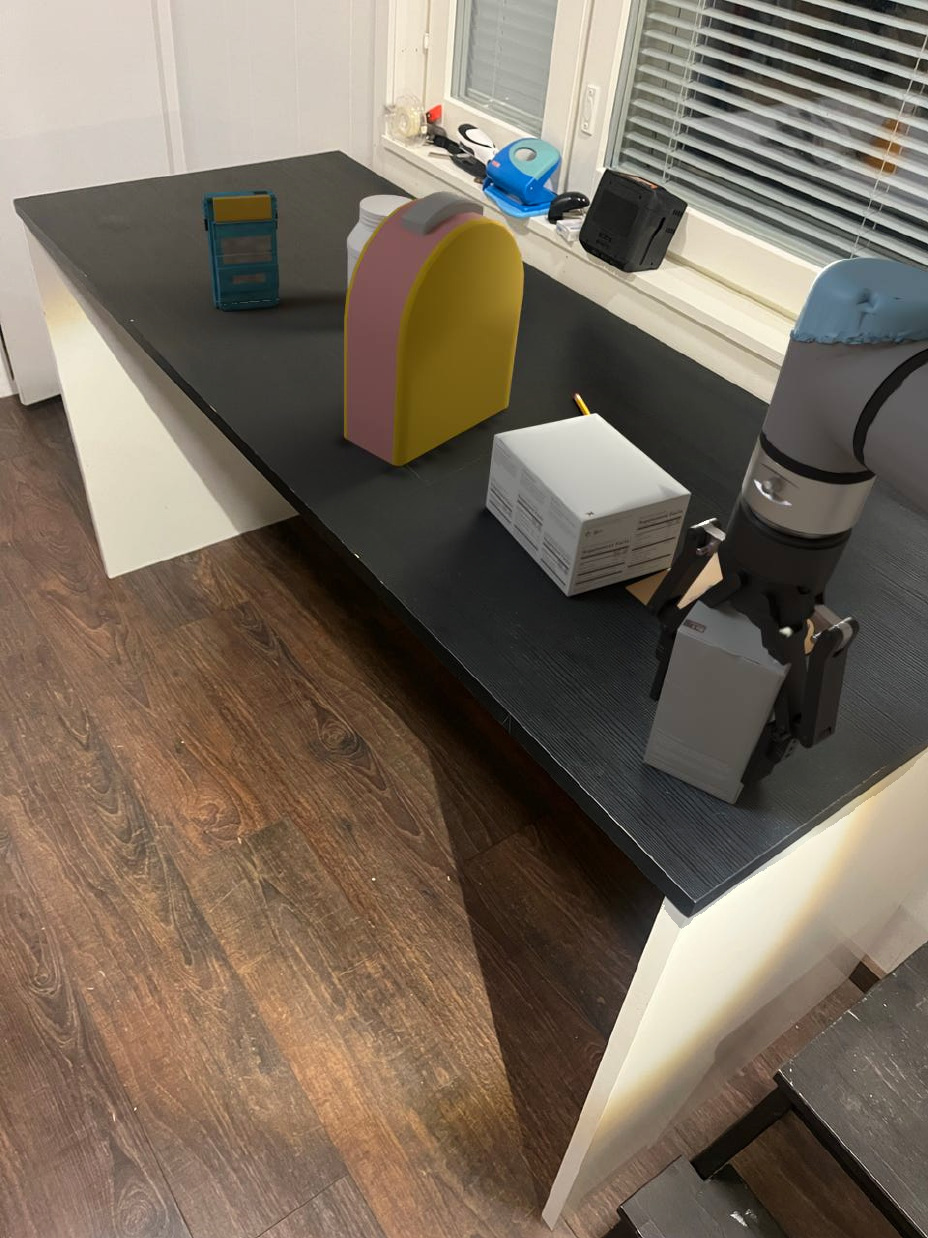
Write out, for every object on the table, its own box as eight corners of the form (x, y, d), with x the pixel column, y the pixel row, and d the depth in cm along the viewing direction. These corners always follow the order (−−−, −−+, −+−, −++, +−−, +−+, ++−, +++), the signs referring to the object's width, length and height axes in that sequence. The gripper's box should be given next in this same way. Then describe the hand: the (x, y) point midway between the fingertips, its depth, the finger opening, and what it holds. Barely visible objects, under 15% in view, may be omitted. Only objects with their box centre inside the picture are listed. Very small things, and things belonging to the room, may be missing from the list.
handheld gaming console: (277, 295, 138) (273, 188, 128) (285, 308, 135) (281, 199, 125) (210, 301, 135) (200, 191, 125) (216, 314, 132) (206, 202, 122)
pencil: (578, 398, 124) (579, 393, 123) (612, 454, 114) (613, 449, 114) (572, 398, 124) (573, 393, 123) (605, 454, 114) (606, 449, 114)
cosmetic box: (758, 758, 80) (822, 620, 69) (728, 815, 75) (792, 676, 65) (666, 713, 83) (714, 574, 72) (632, 765, 78) (678, 624, 68)
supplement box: (673, 568, 98) (695, 492, 92) (566, 600, 93) (582, 522, 87) (583, 481, 109) (598, 409, 103) (483, 506, 104) (492, 431, 97)
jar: (374, 334, 132) (377, 224, 122) (334, 308, 137) (334, 200, 127) (438, 315, 138) (446, 209, 128) (397, 291, 143) (402, 187, 133)
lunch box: (456, 378, 124) (474, 165, 107) (510, 405, 120) (539, 188, 103) (341, 436, 112) (341, 204, 94) (398, 467, 108) (409, 232, 90)
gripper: (638, 439, 66) (584, 665, 81) (904, 628, 54) (781, 855, 68) (713, 414, 70) (647, 635, 85) (979, 586, 57) (847, 811, 72)
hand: (707, 733), depth 77 cm, fingers closed on cosmetic box, 10 cm apart
